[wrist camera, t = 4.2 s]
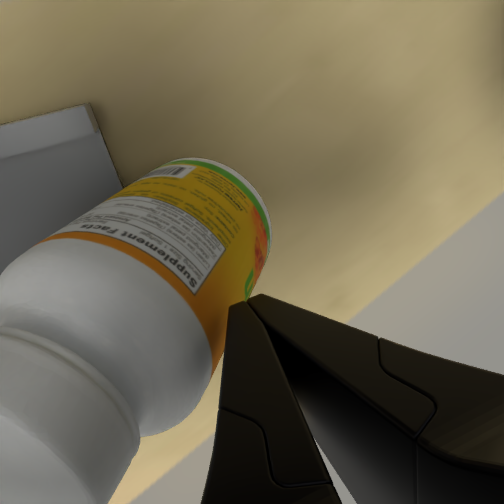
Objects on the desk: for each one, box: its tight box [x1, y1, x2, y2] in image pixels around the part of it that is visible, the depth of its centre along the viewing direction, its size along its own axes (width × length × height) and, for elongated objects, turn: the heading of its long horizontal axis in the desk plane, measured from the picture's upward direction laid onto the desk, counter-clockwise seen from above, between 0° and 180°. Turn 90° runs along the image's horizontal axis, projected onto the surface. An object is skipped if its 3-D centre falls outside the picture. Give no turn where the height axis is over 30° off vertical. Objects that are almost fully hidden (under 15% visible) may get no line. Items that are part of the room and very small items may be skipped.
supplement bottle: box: [0, 158, 272, 504], centre depth 10 cm, size 5×5×10 cm
